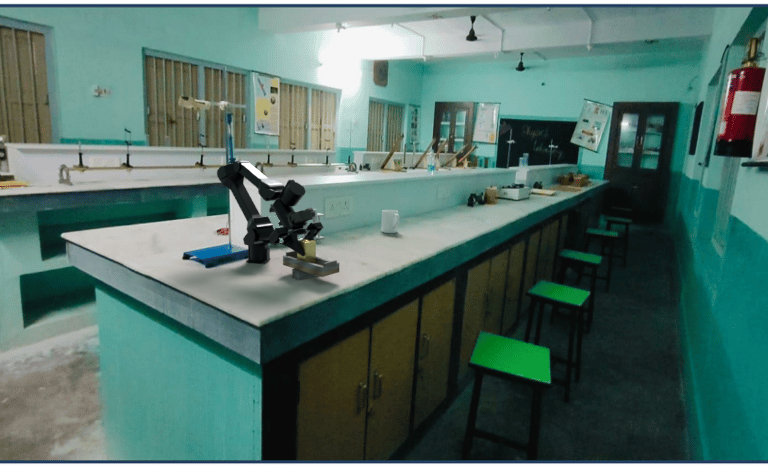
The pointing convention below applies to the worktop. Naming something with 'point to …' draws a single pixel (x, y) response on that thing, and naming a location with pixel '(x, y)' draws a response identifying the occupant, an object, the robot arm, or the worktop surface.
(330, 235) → the worktop surface
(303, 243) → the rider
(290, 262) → the grey open tray
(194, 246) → the worktop surface
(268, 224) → the robot arm
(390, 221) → the mug
